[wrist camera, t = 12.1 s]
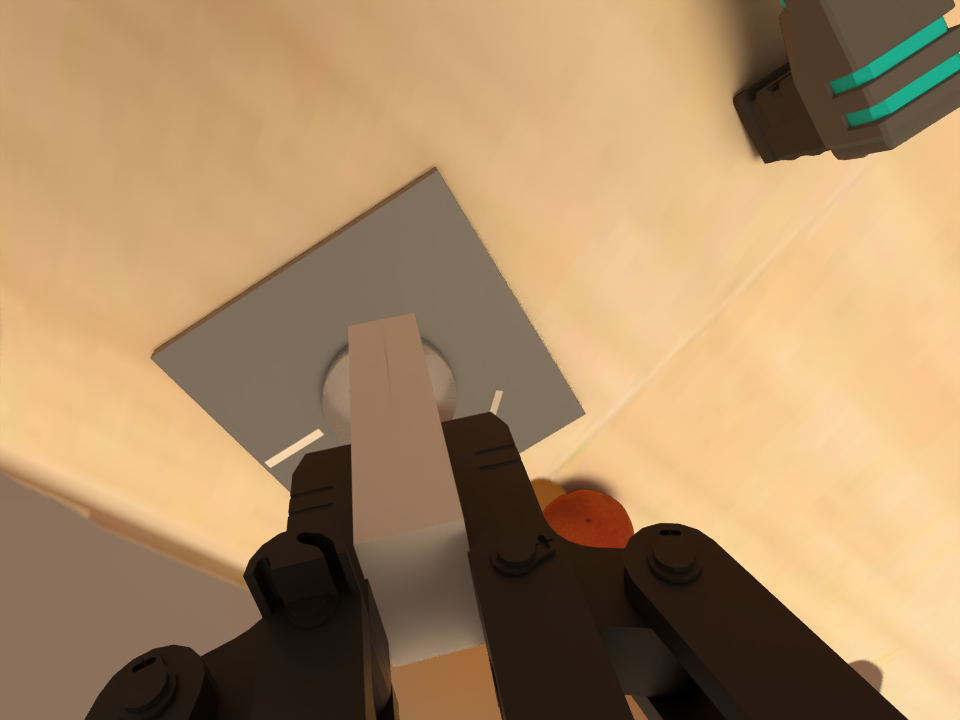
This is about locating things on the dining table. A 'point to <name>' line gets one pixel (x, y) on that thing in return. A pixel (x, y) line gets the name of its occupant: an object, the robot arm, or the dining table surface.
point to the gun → (854, 78)
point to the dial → (339, 390)
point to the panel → (359, 299)
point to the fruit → (590, 519)
